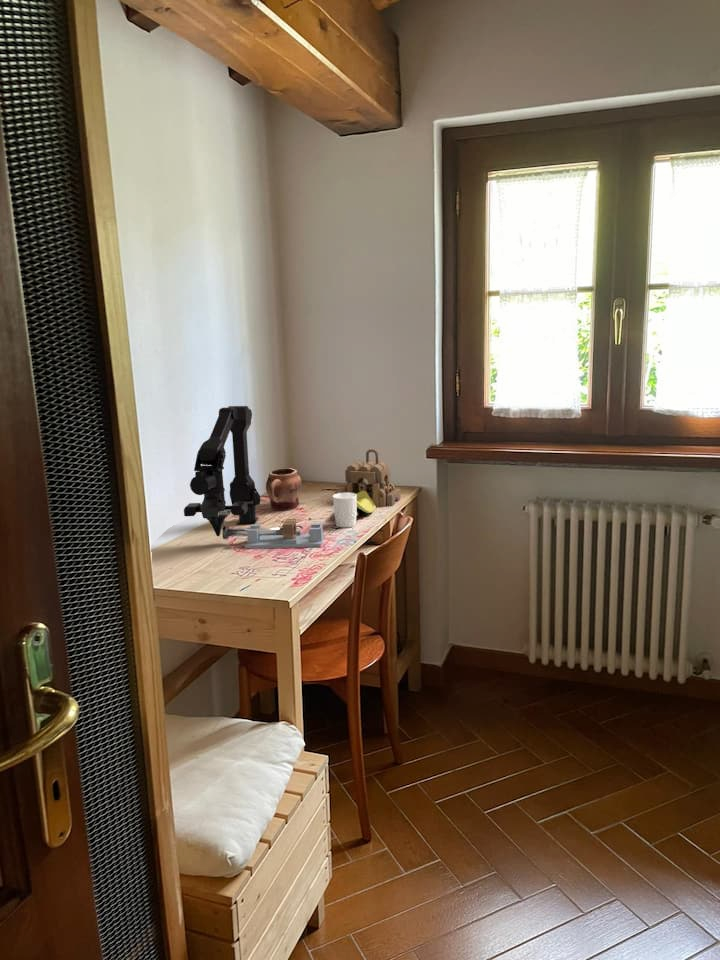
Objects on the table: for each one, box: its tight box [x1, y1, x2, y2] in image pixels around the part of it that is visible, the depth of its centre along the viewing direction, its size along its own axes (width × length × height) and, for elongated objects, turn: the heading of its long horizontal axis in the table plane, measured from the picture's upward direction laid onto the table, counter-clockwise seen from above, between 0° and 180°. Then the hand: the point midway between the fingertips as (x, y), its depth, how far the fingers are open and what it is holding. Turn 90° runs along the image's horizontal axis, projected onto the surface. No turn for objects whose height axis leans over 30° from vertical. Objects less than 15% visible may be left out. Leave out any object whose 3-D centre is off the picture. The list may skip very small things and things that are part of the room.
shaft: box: [221, 525, 283, 540], centre depth 225 cm, size 4×21×4 cm, turn 86°
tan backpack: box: [334, 448, 402, 508], centre depth 268 cm, size 22×15×19 cm, turn 69°
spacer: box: [282, 518, 297, 540], centre depth 224 cm, size 7×3×6 cm, turn 176°
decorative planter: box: [265, 467, 302, 511], centre depth 263 cm, size 20×12×14 cm, turn 168°
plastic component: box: [356, 491, 377, 516], centre depth 253 cm, size 20×7×10 cm
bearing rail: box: [244, 522, 325, 549], centre depth 225 cm, size 10×23×5 cm, turn 86°
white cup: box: [332, 493, 358, 528], centre depth 240 cm, size 8×8×10 cm
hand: (218, 535), depth 226 cm, fingers closed
